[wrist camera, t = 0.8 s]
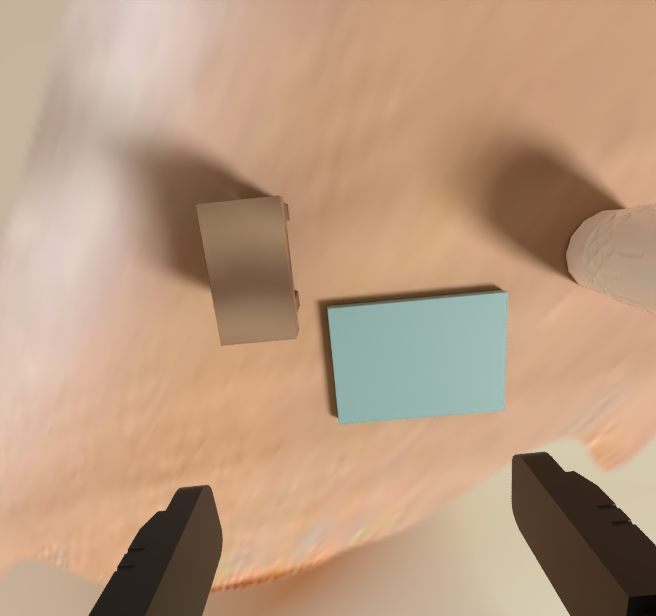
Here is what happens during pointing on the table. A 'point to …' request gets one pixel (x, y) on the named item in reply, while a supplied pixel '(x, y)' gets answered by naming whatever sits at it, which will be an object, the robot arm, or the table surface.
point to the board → (419, 356)
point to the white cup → (617, 255)
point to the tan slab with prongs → (250, 269)
